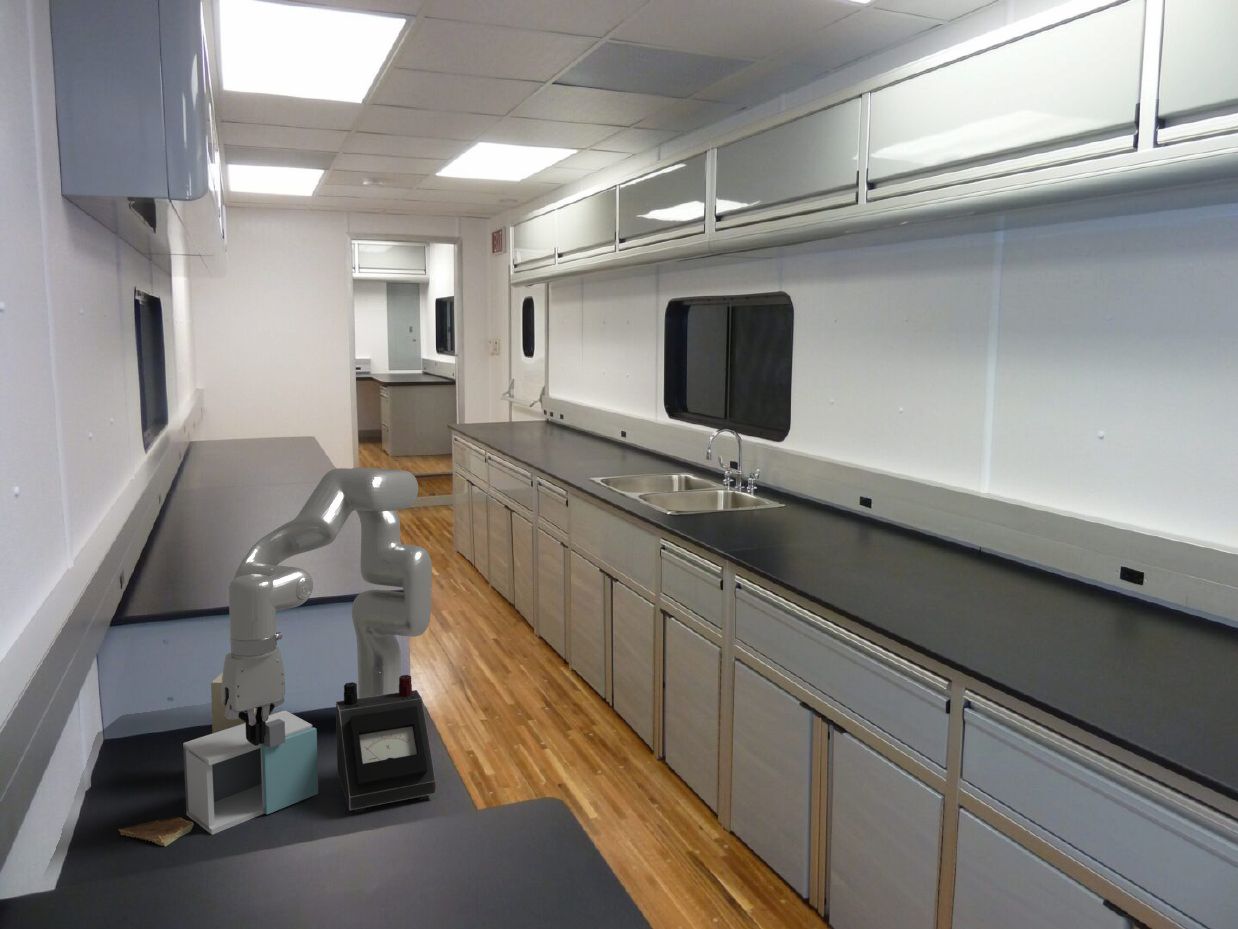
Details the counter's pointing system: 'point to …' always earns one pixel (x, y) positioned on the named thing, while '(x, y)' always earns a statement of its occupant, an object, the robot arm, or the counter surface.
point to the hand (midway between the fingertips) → (256, 742)
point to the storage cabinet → (228, 775)
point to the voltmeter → (383, 747)
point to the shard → (159, 830)
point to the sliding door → (288, 766)
